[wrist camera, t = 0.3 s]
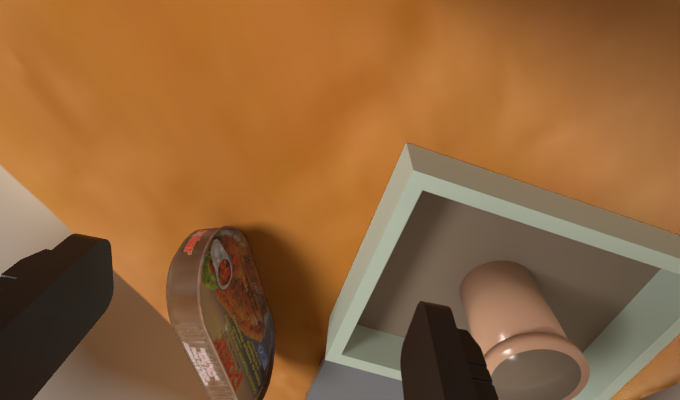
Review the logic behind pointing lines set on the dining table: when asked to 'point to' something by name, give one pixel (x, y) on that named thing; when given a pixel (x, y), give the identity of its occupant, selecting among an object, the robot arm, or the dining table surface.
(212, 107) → the dining table surface
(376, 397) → the slate tile
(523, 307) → the clay pot
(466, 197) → the pale green tray
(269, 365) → the tin
